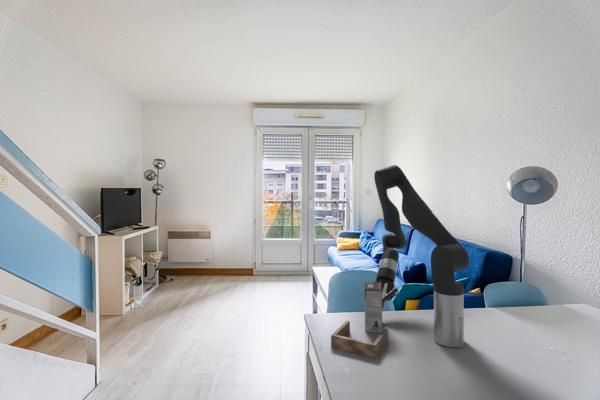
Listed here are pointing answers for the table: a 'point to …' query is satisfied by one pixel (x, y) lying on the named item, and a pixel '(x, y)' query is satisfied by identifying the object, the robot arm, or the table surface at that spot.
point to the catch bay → (358, 342)
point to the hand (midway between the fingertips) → (379, 308)
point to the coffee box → (373, 307)
